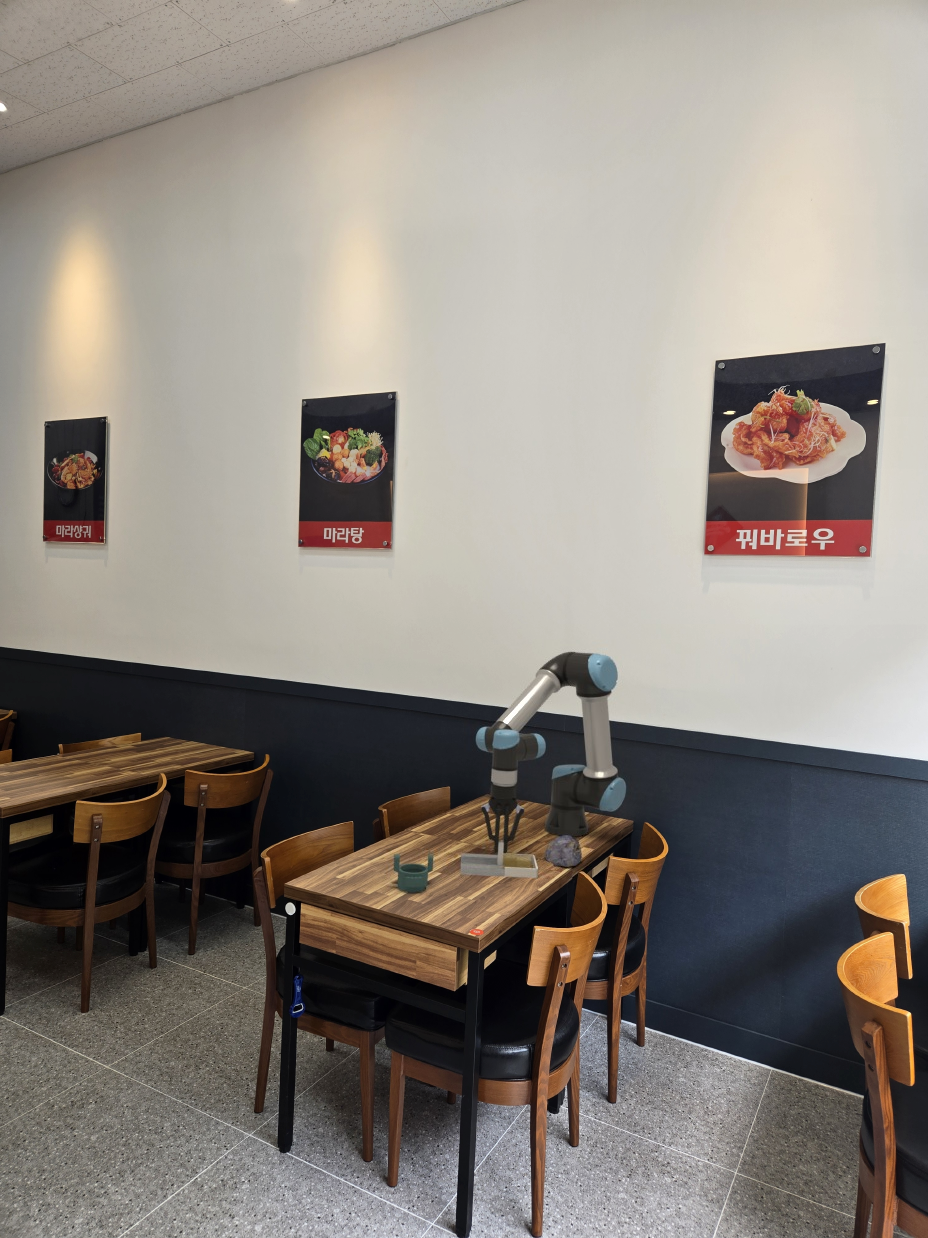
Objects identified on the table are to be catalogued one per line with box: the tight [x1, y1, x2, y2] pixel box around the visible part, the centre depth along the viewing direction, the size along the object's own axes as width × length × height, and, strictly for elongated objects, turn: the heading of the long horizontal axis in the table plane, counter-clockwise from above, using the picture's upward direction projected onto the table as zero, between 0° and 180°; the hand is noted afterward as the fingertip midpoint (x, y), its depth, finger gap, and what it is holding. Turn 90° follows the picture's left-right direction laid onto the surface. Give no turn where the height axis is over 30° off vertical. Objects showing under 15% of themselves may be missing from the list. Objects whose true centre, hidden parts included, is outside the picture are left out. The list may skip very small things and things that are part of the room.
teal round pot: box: [393, 853, 434, 894], centre depth 212 cm, size 9×9×9 cm
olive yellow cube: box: [502, 852, 517, 868], centre depth 228 cm, size 4×4×4 cm
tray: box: [503, 853, 539, 879], centre depth 228 cm, size 10×13×4 cm
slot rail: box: [460, 852, 505, 877], centre depth 228 cm, size 12×13×3 cm
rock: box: [544, 835, 583, 867], centre depth 239 cm, size 11×10×10 cm
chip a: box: [516, 856, 531, 868], centre depth 228 cm, size 4×4×4 cm
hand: (499, 863), depth 228 cm, fingers closed
